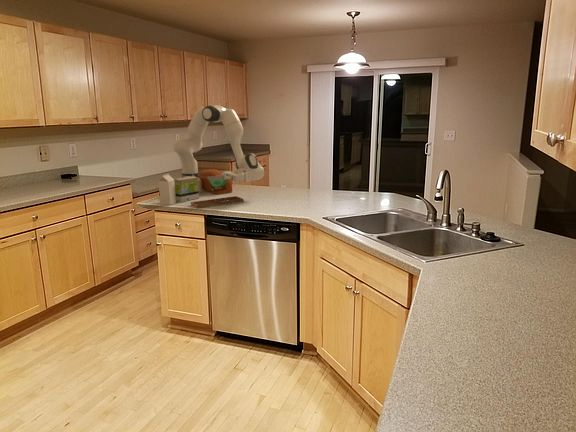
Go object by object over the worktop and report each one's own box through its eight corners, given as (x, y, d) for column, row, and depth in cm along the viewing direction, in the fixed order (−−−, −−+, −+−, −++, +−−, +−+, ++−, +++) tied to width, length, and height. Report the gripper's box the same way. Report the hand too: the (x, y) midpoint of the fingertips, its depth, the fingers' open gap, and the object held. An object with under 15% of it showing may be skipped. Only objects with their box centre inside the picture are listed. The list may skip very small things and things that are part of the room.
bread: (211, 186, 332) (210, 166, 328) (234, 192, 307) (233, 170, 304) (195, 188, 324) (194, 168, 320) (217, 195, 299) (216, 173, 295)
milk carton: (176, 202, 275) (173, 173, 270) (170, 205, 268) (167, 175, 264) (166, 202, 277) (163, 173, 272) (160, 204, 270) (157, 174, 266)
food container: (210, 193, 267) (208, 177, 264) (209, 191, 272) (206, 176, 269) (230, 189, 270) (227, 174, 267) (228, 187, 275) (226, 172, 272)
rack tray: (191, 205, 268) (190, 202, 267) (236, 199, 284) (236, 196, 284) (197, 208, 259) (197, 205, 259) (243, 201, 276) (243, 198, 275)
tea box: (182, 202, 276) (180, 179, 273) (172, 200, 282) (170, 178, 278) (199, 198, 288) (198, 176, 284) (190, 196, 294) (188, 175, 290)
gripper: (233, 168, 285) (214, 170, 277) (248, 172, 268) (228, 174, 261) (234, 177, 286) (215, 179, 279) (248, 182, 270) (228, 184, 262)
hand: (221, 177), depth 270 cm, fingers closed on food container, 5 cm apart
